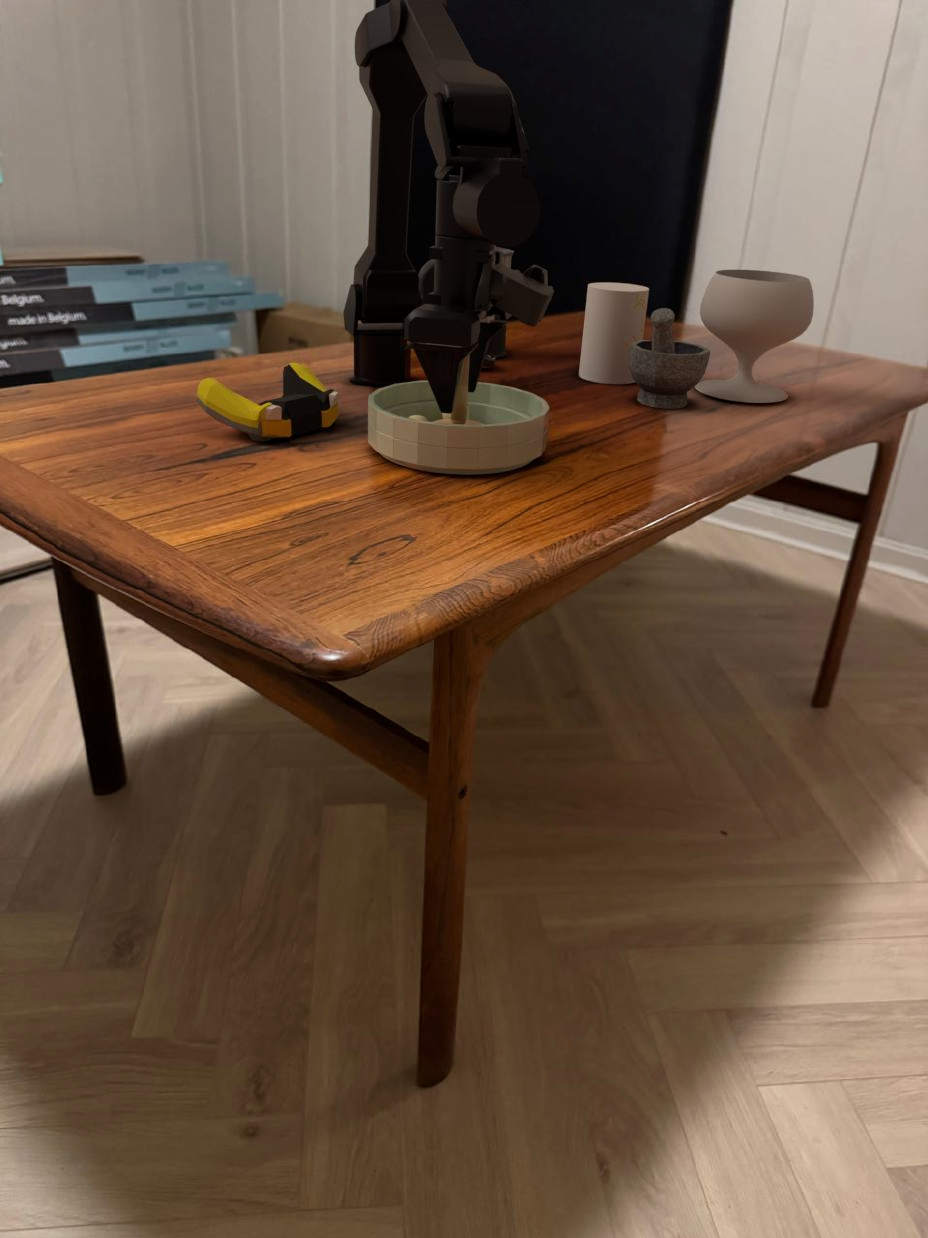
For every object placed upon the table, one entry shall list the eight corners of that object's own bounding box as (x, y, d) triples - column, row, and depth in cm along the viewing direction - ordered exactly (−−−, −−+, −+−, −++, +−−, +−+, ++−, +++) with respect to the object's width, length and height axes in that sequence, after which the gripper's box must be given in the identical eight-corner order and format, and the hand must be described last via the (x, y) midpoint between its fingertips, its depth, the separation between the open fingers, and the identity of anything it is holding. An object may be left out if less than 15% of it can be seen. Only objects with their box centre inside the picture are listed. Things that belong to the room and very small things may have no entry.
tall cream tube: (636, 386, 124) (648, 293, 119) (576, 380, 126) (585, 288, 120) (638, 373, 132) (649, 285, 126) (581, 368, 133) (590, 280, 127)
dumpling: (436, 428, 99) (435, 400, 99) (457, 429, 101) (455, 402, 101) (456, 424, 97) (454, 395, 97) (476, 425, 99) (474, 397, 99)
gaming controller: (191, 430, 97) (254, 451, 91) (186, 378, 94) (250, 396, 89) (298, 406, 107) (359, 423, 102) (296, 358, 105) (359, 373, 100)
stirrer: (421, 445, 93) (424, 340, 88) (437, 430, 98) (441, 330, 94) (478, 453, 92) (484, 346, 87) (492, 437, 97) (498, 335, 92)
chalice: (676, 396, 120) (694, 275, 113) (699, 376, 131) (718, 265, 125) (786, 413, 115) (812, 287, 108) (801, 391, 126) (826, 275, 119)
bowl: (342, 463, 89) (341, 412, 87) (400, 417, 105) (400, 373, 103) (525, 487, 86) (529, 435, 83) (557, 435, 101) (561, 390, 99)
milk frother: (486, 345, 145) (492, 244, 138) (545, 366, 133) (554, 256, 126) (406, 351, 138) (408, 245, 131) (460, 374, 126) (465, 258, 119)
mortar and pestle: (639, 389, 123) (651, 295, 117) (708, 400, 119) (724, 303, 114) (609, 406, 114) (621, 305, 109) (683, 419, 110) (699, 315, 105)
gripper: (532, 251, 76) (518, 435, 83) (566, 234, 92) (552, 390, 100) (403, 241, 79) (401, 421, 86) (459, 226, 95) (453, 379, 102)
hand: (458, 401), depth 93 cm, fingers open, 9 cm apart
